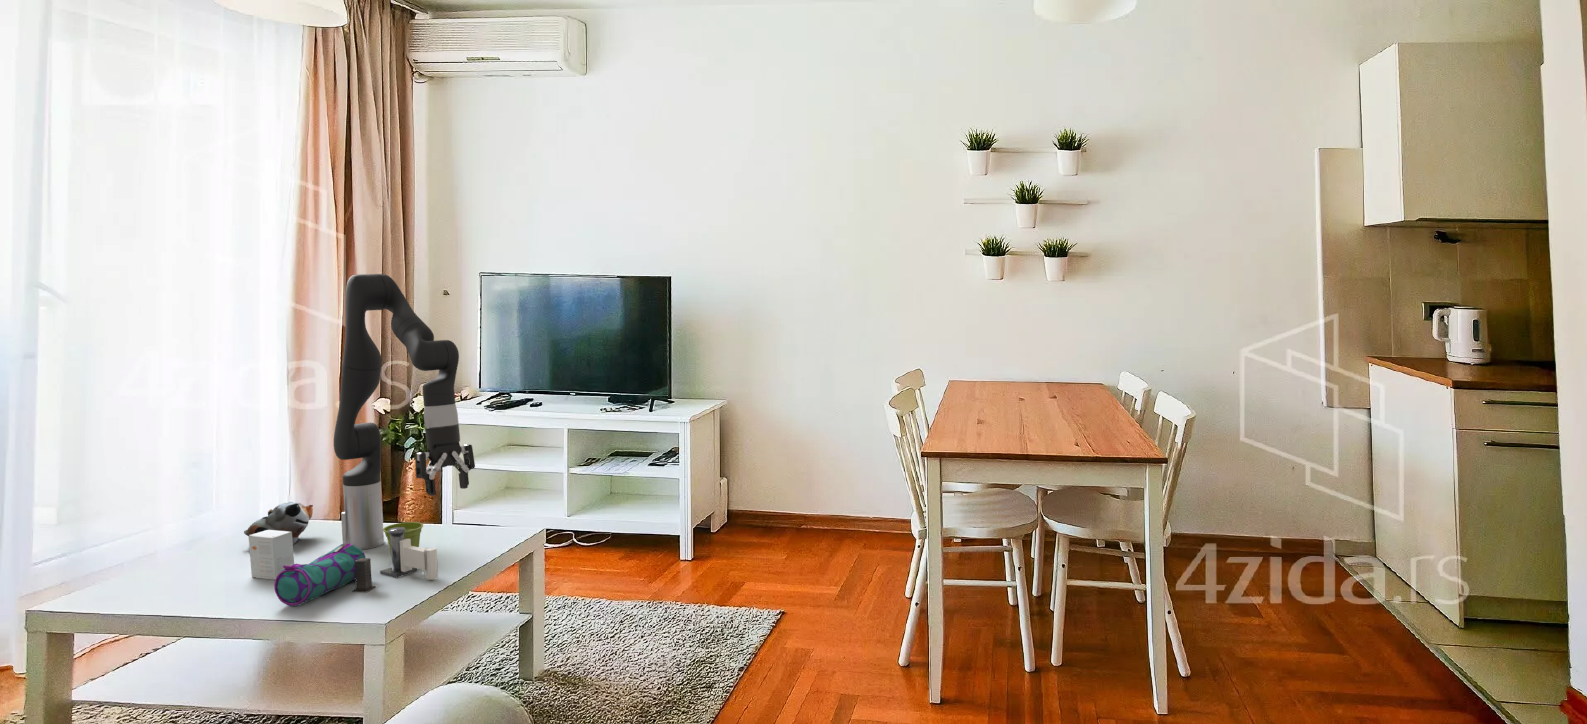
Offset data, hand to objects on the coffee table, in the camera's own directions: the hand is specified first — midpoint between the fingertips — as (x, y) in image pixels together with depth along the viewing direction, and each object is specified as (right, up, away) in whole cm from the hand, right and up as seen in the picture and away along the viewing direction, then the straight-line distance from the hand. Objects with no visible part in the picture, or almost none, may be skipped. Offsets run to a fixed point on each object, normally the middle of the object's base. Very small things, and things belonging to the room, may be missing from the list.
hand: (448, 491), depth 215 cm
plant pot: (-17, -20, +16) cm, 31 cm away
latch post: (-17, -22, -6) cm, 28 cm away
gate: (-8, -20, +2) cm, 22 cm away
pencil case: (-26, -22, -8) cm, 35 cm away
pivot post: (-14, -21, +6) cm, 26 cm away
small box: (-44, -21, +5) cm, 50 cm away
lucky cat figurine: (-59, -19, +34) cm, 70 cm away
